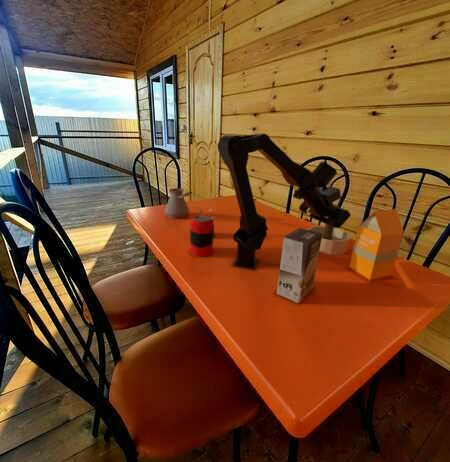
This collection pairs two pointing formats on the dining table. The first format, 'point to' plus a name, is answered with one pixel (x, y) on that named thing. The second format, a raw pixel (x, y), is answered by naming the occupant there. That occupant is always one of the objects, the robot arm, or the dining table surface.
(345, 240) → the bowl
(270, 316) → the dining table surface
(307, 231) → the coffee box
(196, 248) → the soda can
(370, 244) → the orange juice
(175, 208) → the coffee pot
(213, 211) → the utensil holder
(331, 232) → the brown rectangular block
